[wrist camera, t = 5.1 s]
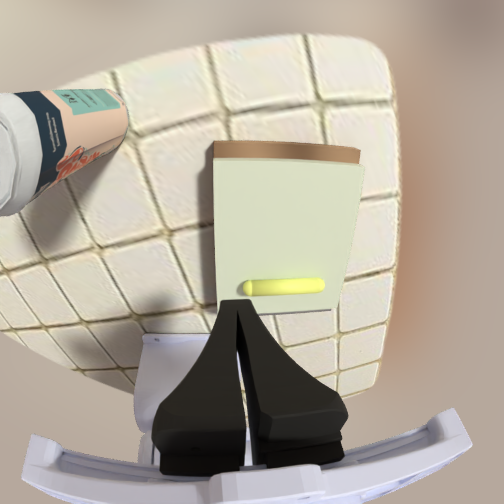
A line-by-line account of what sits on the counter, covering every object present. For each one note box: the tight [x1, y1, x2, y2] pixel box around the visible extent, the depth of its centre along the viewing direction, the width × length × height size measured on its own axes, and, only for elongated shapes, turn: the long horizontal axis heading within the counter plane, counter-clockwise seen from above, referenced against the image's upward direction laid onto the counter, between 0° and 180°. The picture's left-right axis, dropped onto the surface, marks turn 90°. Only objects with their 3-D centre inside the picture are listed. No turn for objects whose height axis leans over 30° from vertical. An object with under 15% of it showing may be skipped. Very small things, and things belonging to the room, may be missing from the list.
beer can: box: [0, 89, 129, 216], centre depth 11 cm, size 5×5×12 cm
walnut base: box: [214, 141, 361, 164], centre depth 22 cm, size 10×14×1 cm
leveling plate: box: [213, 158, 365, 316], centre depth 20 cm, size 10×12×2 cm
